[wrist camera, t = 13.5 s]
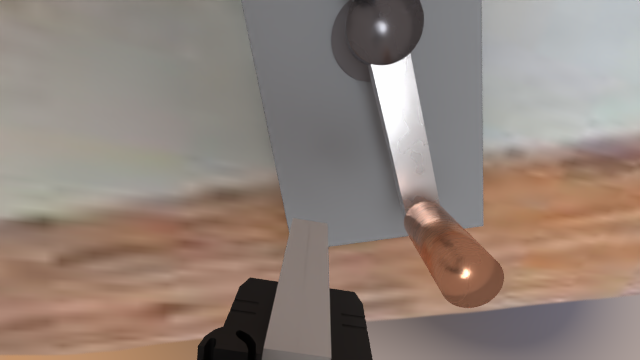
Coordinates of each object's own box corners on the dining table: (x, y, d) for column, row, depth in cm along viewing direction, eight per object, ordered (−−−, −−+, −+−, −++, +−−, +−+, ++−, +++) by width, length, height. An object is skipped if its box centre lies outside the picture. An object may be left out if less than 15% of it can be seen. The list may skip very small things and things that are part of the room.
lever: (315, -67, 20) (302, -248, 9) (380, -91, 19) (446, -309, 9) (388, 223, 26) (431, 316, 15) (439, 210, 25) (521, 296, 15)
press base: (232, -61, 22) (210, -99, 18) (469, -109, 21) (507, -162, 17) (294, 243, 29) (289, 270, 24) (475, 218, 28) (502, 242, 23)
